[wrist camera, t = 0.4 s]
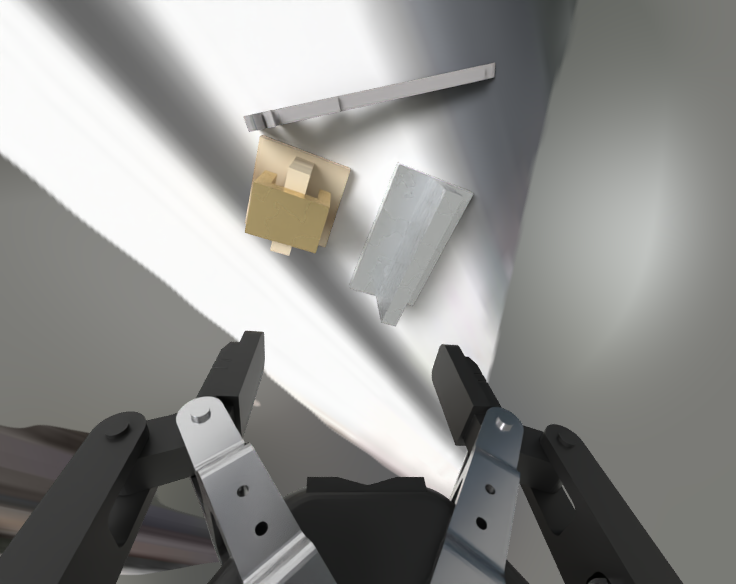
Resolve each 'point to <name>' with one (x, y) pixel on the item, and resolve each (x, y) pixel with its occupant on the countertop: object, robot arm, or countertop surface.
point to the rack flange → (407, 239)
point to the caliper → (367, 97)
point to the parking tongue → (301, 178)
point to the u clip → (286, 214)
